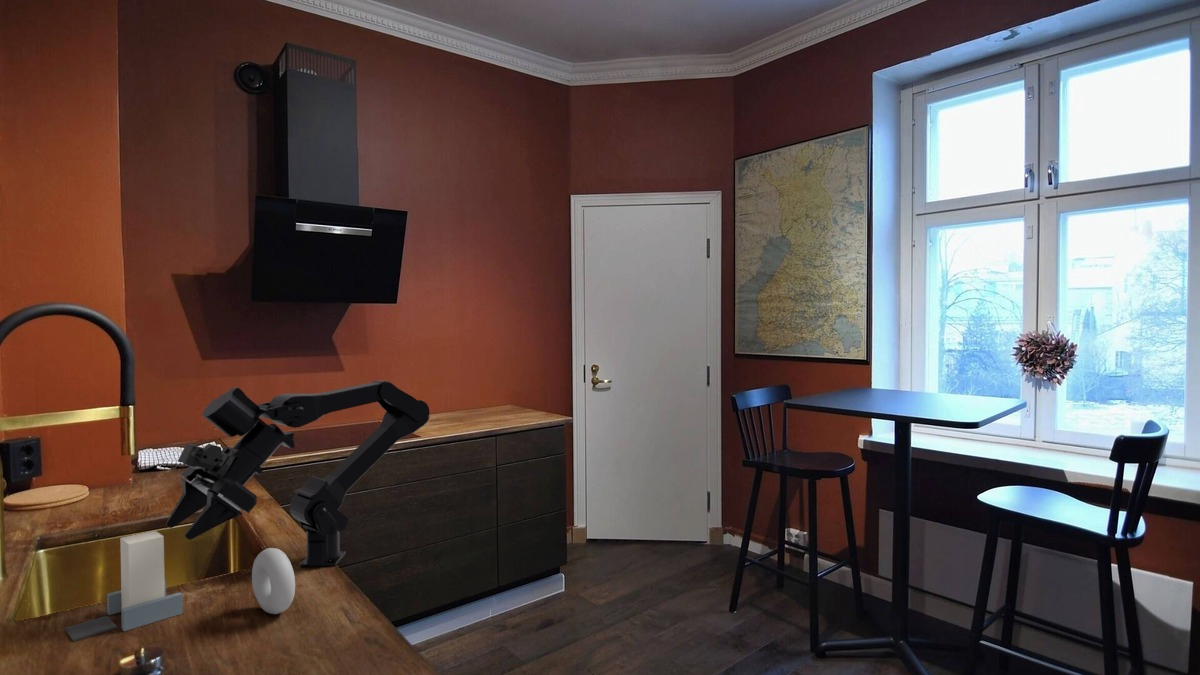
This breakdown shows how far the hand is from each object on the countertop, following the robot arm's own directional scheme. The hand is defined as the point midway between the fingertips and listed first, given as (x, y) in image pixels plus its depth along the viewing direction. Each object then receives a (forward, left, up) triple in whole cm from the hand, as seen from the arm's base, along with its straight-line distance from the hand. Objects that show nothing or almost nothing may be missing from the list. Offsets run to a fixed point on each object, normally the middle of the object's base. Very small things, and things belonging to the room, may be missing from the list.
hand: (177, 532), depth 101 cm
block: (+3, -3, -12) cm, 13 cm away
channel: (+3, -3, -12) cm, 12 cm away
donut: (+5, +17, -12) cm, 21 cm away
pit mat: (+8, -8, -12) cm, 16 cm away
